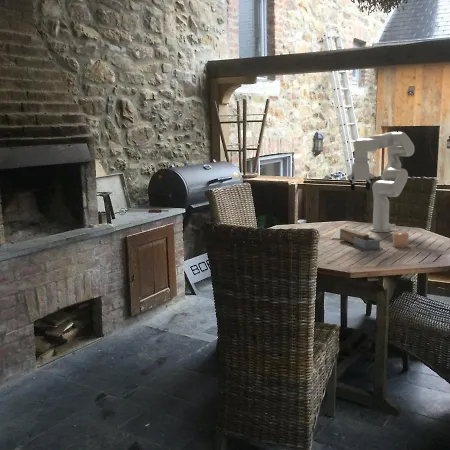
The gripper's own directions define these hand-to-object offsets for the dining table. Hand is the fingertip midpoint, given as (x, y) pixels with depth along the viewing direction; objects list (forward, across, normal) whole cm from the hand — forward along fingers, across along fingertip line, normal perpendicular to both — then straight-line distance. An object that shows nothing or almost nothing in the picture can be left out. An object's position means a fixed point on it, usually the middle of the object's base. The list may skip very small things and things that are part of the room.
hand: (360, 190), depth 305 cm
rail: (+27, +12, +15) cm, 33 cm away
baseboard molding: (+29, +6, -10) cm, 32 cm away
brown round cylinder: (+28, -9, +29) cm, 41 cm away
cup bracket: (+28, +10, +25) cm, 39 cm away
